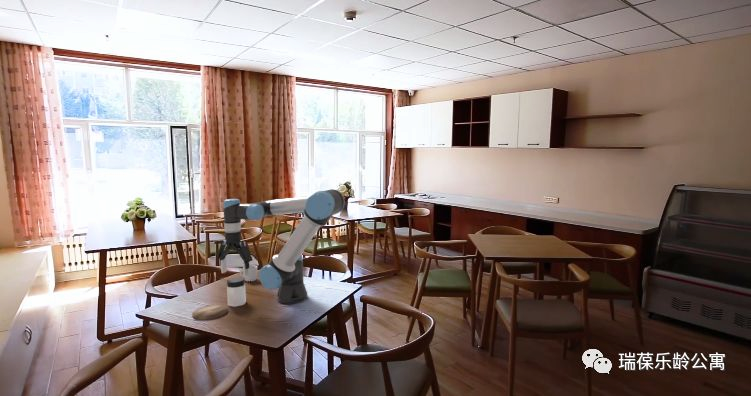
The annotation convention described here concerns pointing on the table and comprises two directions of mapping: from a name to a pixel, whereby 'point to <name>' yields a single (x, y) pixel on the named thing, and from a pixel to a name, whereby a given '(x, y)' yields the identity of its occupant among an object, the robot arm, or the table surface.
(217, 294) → the table surface
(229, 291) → the jar
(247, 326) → the table surface
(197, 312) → the disc
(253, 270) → the cup
